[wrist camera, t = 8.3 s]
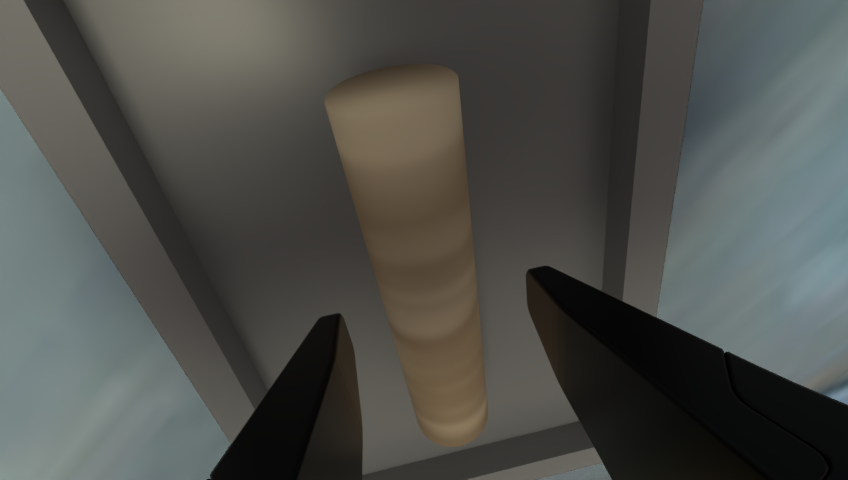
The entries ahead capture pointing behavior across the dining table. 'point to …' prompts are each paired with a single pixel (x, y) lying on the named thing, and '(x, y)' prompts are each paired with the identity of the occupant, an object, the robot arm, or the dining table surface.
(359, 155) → the wooden dowel
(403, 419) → the charcoal frame
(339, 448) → the robot arm
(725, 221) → the dining table surface
